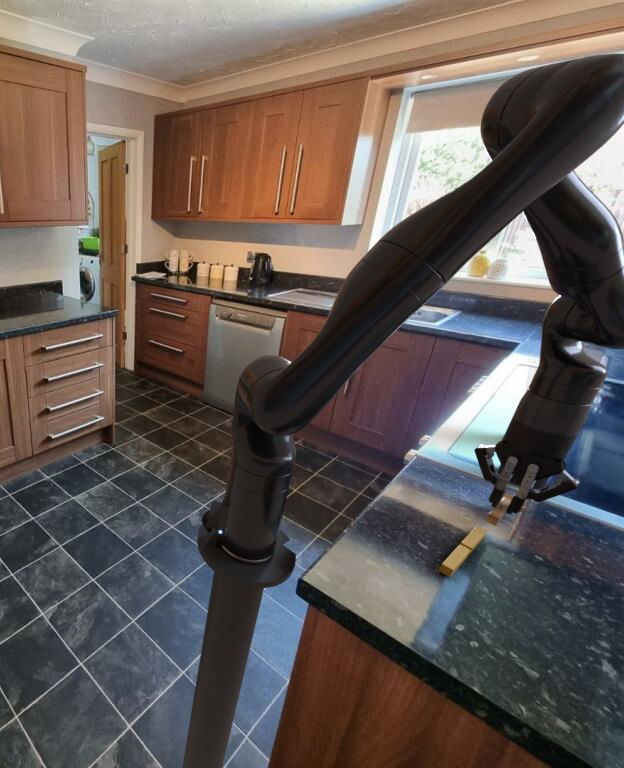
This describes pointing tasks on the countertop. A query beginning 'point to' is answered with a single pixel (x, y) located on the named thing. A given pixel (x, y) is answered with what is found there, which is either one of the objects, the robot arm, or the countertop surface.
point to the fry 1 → (454, 560)
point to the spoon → (501, 510)
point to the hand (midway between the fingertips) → (502, 508)
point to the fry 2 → (474, 538)
